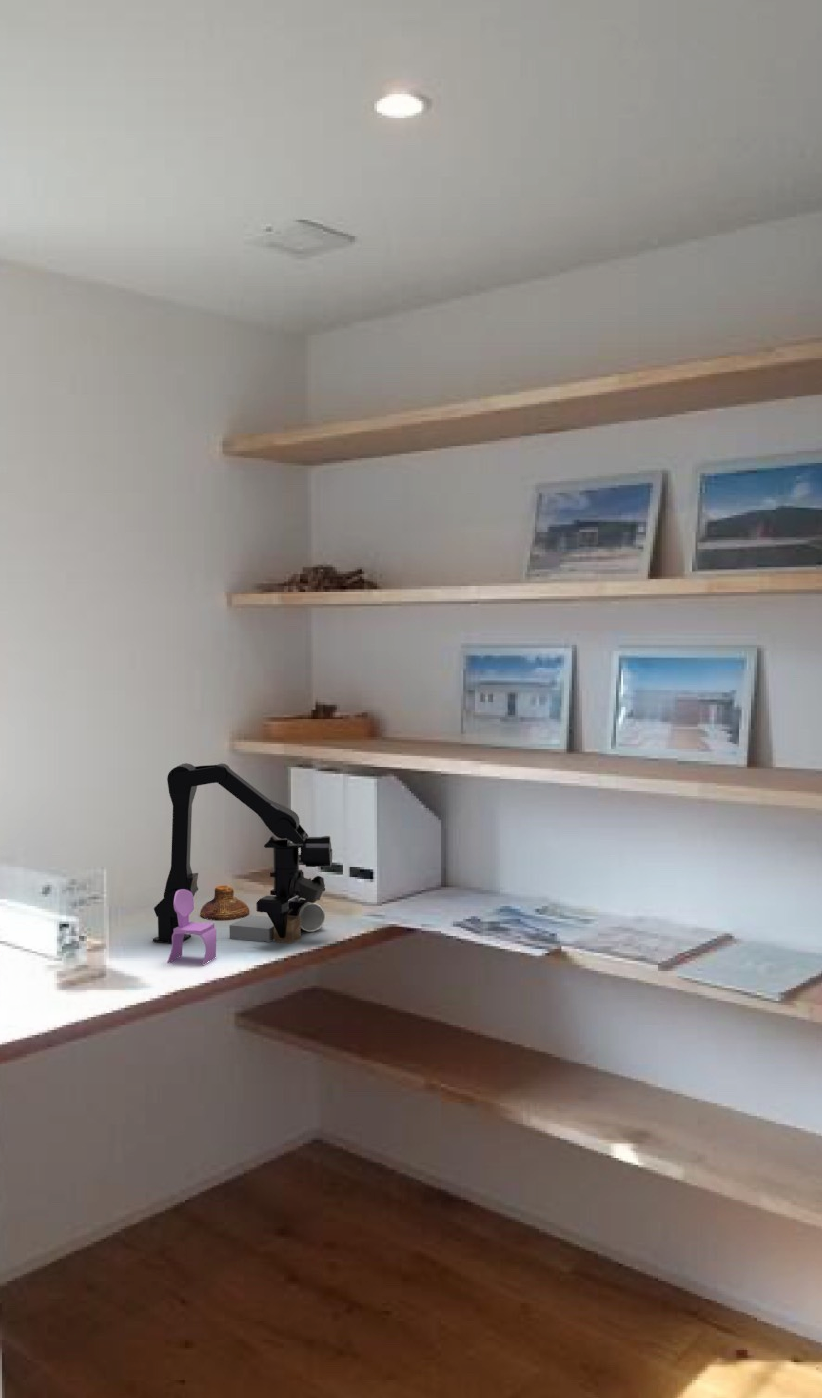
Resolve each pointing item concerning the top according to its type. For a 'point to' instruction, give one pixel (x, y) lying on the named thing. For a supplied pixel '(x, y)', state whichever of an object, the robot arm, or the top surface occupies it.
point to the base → (253, 929)
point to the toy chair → (191, 927)
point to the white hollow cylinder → (311, 917)
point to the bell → (224, 905)
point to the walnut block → (290, 930)
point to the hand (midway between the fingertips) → (287, 935)
